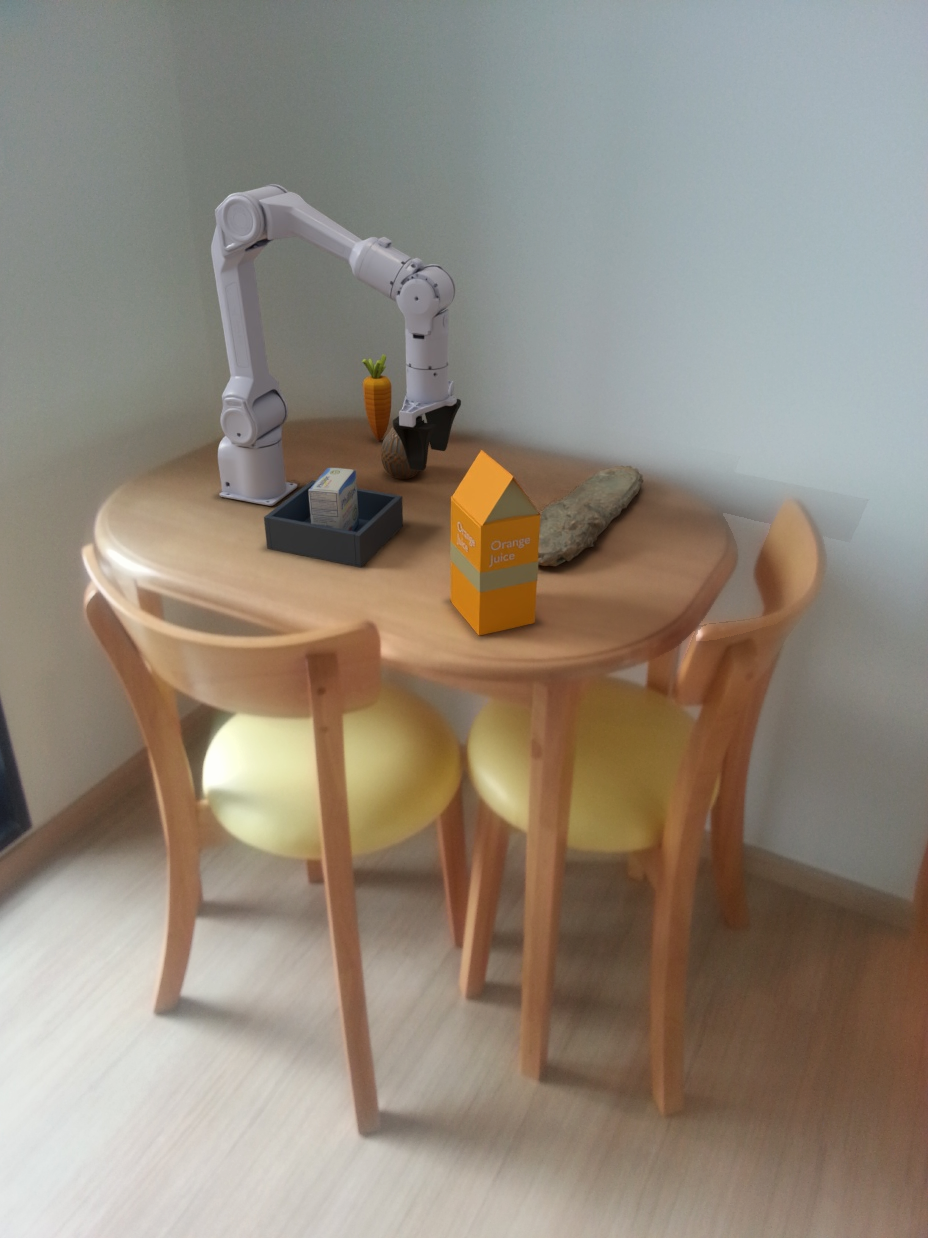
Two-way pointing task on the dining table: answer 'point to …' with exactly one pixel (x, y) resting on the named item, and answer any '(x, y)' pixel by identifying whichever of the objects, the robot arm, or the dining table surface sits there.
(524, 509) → the orange juice
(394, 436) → the vase
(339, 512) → the medicine box
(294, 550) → the basket
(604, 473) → the elongated rock
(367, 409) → the carrot
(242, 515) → the dining table surface
